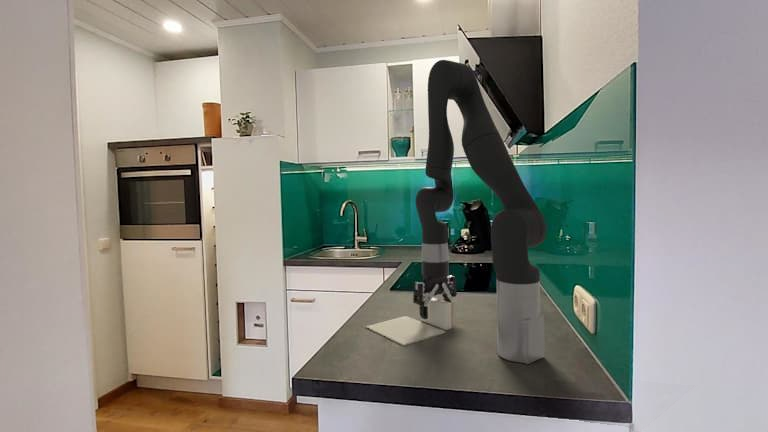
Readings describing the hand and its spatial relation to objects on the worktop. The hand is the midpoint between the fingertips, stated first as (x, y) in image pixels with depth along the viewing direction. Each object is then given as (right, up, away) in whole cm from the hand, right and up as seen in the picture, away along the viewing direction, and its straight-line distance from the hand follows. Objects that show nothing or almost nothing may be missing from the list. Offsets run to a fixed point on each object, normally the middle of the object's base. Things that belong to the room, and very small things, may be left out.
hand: (435, 315), depth 113 cm
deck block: (0, -3, 0) cm, 3 cm away
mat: (-9, -3, -4) cm, 10 cm away
